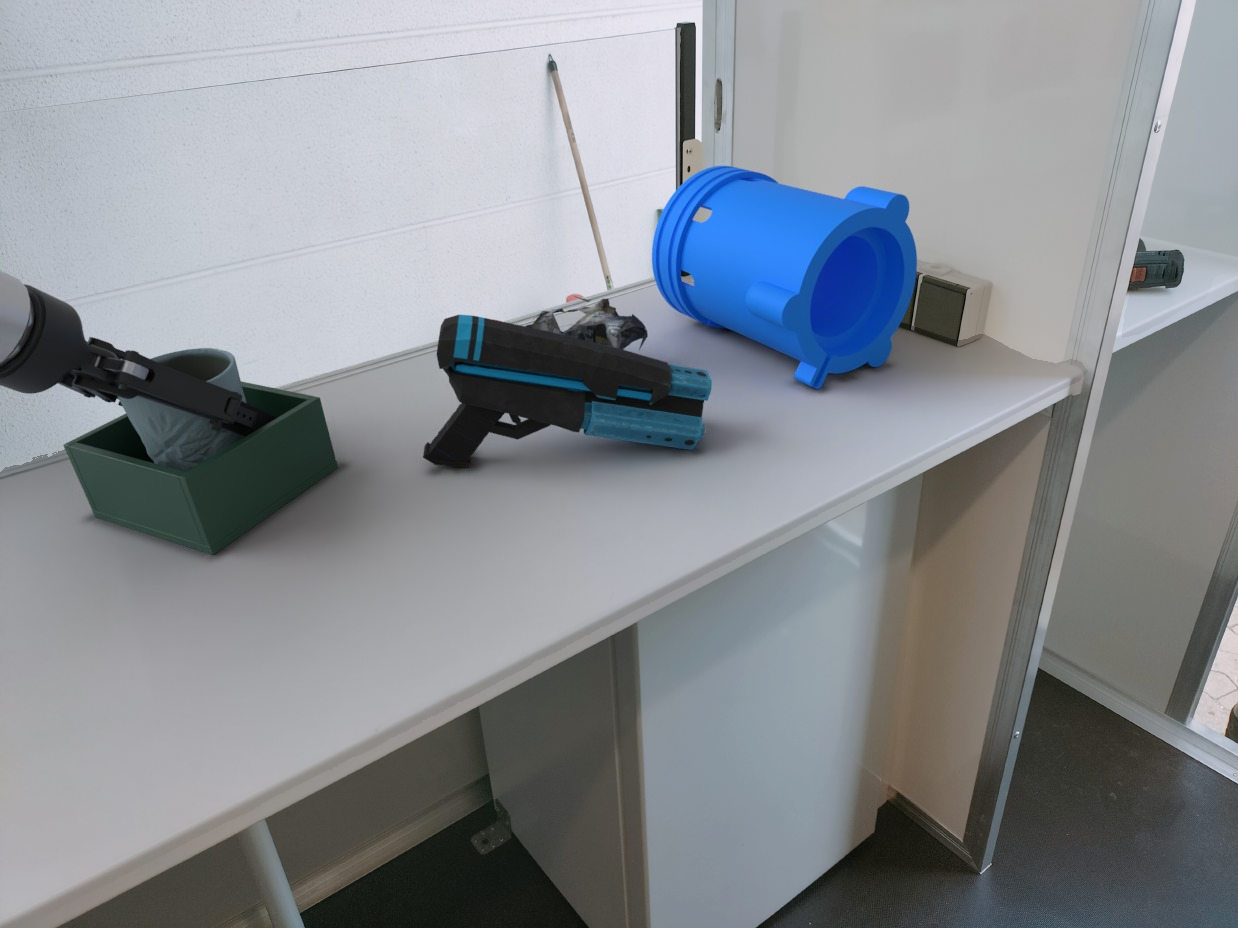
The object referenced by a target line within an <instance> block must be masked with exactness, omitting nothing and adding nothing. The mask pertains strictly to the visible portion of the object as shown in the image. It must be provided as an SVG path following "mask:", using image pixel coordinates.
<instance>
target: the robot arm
mask: <svg viewBox="0 0 1238 928" xmlns="http://www.w3.org/2000/svg"><path fill="white" fill-rule="evenodd" d="M83 328H84V327H83V322H82V320H81V317H80V315H79V313H78V312H77V310H76V309H75V308H74V306H72V305H70V304H69V303H68V302H66V301H63V300H62V299H59V298H57V297H55V296H53V295H51V294H49V293H47V292H44V291H42V290H41V289H38V288H36V287H35V286H32V285H29V284H25V283H23V281H21V279H19V278H17V277H15V276H13V275H11V274H8V273H7V272H4V271H2V270H0V387H1V386H2V387H4V388H7V389H9V390H12V391H15V392H17V393H18V392H19V393H20V394H21V393H22V394H28V395H33V394H39V393H42V392H45V391H48V390H50V389H52V388H53V387H55V386H57V384H58V385H60V386H63V387H65V388H67V389H70V390H72V391H74V392H77V393H79V394H80V395H83V396H84V397H86V398H89V399H91V398H94V399H96V397H98V398H99V399H101V400H102V401H104V402H105V403H109V404H110V403H116V402H117V400H119V398H118V396H119V397H122V398H125V399H132V398H134V397H136V396H139V397H142V398H145V399H148V400H151V401H154V402H157V403H161V404H164V405H167V406H170V407H173V408H176V409H179V410H182V411H185V412H188V413H191V414H194V415H197V416H201V417H204V418H207V419H210V423H212V424H213V425H212V428H211V429H212V430H216V431H220V430H221V427H222V428H224V429H227V430H229V431H232V432H234V433H237V434H239V435H242V436H244V437H246V436H248V435H249V434H251V433H253V432H254V431H256V430H258V429H259V428H261V427H263V426H264V425H266V424H268V423H270V422H271V421H273V420H275V419H276V418H278V417H275V416H273V415H271V414H269V413H267V412H264V411H262V410H260V409H258V408H256V407H253V406H251V405H249V404H247V403H245V402H242V401H241V400H242V397H243V396H242V395H241V394H239V393H237V392H234V391H233V392H232V391H229V390H227V389H224V388H222V387H219V386H216V385H214V384H211V383H209V382H206V381H204V380H201V379H198V378H196V377H193V376H191V375H188V374H186V373H183V372H180V371H178V370H175V369H173V368H170V367H168V366H165V365H162V364H160V363H157V362H155V361H153V360H151V358H149V357H147V356H144V355H142V354H140V352H138V351H136V350H134V349H133V350H128V349H126V350H125V351H124V350H122V349H118V348H116V347H115V346H114V345H113V344H112V343H111V342H108V341H105V340H102V339H99V338H96V337H93V336H89V338H88V340H86V337H85V335H84V329H83ZM119 385H123V386H126V389H125V390H123V389H120V388H119ZM117 406H120V407H122V408H123V406H122V404H121V402H120V400H119V401H118V404H117Z"/></svg>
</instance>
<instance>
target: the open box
mask: <svg viewBox="0 0 1238 928" xmlns="http://www.w3.org/2000/svg"><path fill="white" fill-rule="evenodd" d="M241 385H242V389H243V393H244V396H245V399H246V403H247V404H249V405H251V406H253V407H256V408H258V409H260V410H262V411H264V412H267V413H269V414H271V415H273V416H275V417H278V418H276V419H275V420H273V421H271V422H270V423H268V424H266V425H264V426H263V427H261V428H259V429H258V430H256V431H254V432H253V433H251V434H249V435H248V436H246V437H244V438H243V439H241V440H239V441H238V442H236V443H234V444H232V445H231V446H229V447H227V448H226V449H224V450H222V451H221V452H219V453H217V454H216V455H214V456H212V457H211V458H209V459H207V460H206V461H204V462H202V463H200V464H199V465H197V466H195V467H194V468H192V469H190V470H189V471H187V472H184V471H180V470H176V469H173V468H169V467H165V466H162V465H158V464H154V461H153V460H152V459H151V458H150V457H149V455H148V454H147V450H146V447H145V445H144V444H143V442H142V440H141V437H140V435H139V434H138V433H137V431H136V430H135V428H134V426H133V425H132V423H131V421H130V420H129V418H128V416H127V414H126V413H124V414H122V415H119V416H118V417H116V418H113V419H112V420H110V421H108V422H106V423H104V424H102V425H100V426H97V427H96V428H94V429H92V430H90V431H88V432H85V433H84V434H82V435H80V436H78V437H75V438H74V439H71V440H70V441H67V442H65V443H64V444H63V445H62V446H63V448H64V450H65V452H66V455H67V457H68V459H69V461H70V463H71V466H72V468H73V470H74V472H75V474H76V475H75V476H76V477H77V479H78V481H79V484H80V487H81V489H82V490H83V492H84V495H85V497H86V499H87V502H88V504H89V506H90V508H91V511H92V513H93V516H94V517H95V518H97V519H99V520H103V521H106V522H109V523H112V524H115V525H119V526H121V527H125V528H127V529H130V530H134V531H136V532H140V533H143V534H146V535H149V536H153V537H156V538H159V539H162V540H165V541H168V542H171V543H174V544H178V545H181V546H184V547H187V548H190V549H193V550H196V551H199V552H201V553H202V552H203V553H205V554H208V555H212V556H214V555H215V554H217V553H219V552H220V551H222V550H223V549H224V548H226V547H227V546H228V545H230V544H231V543H233V542H234V541H235V540H237V539H238V538H240V537H241V536H242V535H244V534H245V533H247V532H248V531H250V530H251V529H253V528H254V527H255V526H256V525H258V524H259V523H261V522H263V521H264V520H265V519H267V518H268V517H270V516H271V515H272V514H274V513H275V512H278V510H280V509H281V508H282V507H284V506H285V505H287V504H288V503H289V502H291V501H292V500H294V499H295V498H296V497H298V496H299V495H301V494H302V493H303V492H306V491H307V490H308V489H309V488H311V487H312V486H314V485H315V484H317V483H318V482H319V481H321V480H322V479H324V478H325V477H326V476H328V475H329V474H330V473H332V472H334V471H335V470H336V469H338V468H339V465H338V462H337V459H336V458H337V457H336V454H335V450H334V447H333V442H332V439H331V435H330V431H329V428H328V427H329V426H328V424H327V420H326V416H325V411H324V408H323V404H322V401H321V400H322V399H321V397H320V396H315V395H311V394H305V393H301V392H295V391H291V390H286V389H281V388H276V387H270V386H266V385H261V384H258V383H257V384H256V383H252V382H251V383H250V382H246V381H241Z"/></svg>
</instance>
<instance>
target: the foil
mask: <svg viewBox="0 0 1238 928" xmlns="http://www.w3.org/2000/svg"><path fill="white" fill-rule="evenodd" d="M573 297H574V298H577V299H579V300H582V301H584V302H587V303H589V302H591V300H590V299H586V298H582V297H578V296H575V295H573ZM585 305H586V303H585V304H583V305H582V306H580V307H579V308H575V309H574V308H573V309H568V310H564V308H558V309H552V310H551V311H549V310H542V311H541V312H540V313H539V314H537V316H535V317H534V318H533V319H532V321H534V322H533V323H531V324H530V323H528V324H526V325H524V326H525V327H530V328H535V329H539V330H544V331H549V332H553V333H557V334H561V335H565V336H569V337H573V338H577V339H581V340H585V341H589V342H594V343H598V344H602V345H606V346H610V347H614V348H618V349H622V350H625V348H627V347H628V346H630V345H632V343H634V342H637V341H638V340H641V342H640V344H639V349H638V351H640V350H641V349H642V347H643V345H644V343H645V342H646V340H647V338H648V335H649V334H648V330H647V327H646V325H645V324H644V323H643V322H642V321H641V320H640V319H639V318H638V317H637V316H636V315H635V314H634V313H632V314H631V315H619V313H618V311H617V307H614V306H612V305H611V304H610V301H609V298H602V299H600V300H599V302H597V303H595V304H594V305H593V306H585ZM578 311H579V312H581V313H583V314H585V315H584V316H582V317H581V318H579V320H577V321H576V322H575V323H573V324H571V325H570V324H568V325H566V327H567V326H570V327H569V328H567V329H565V330H563V331H562V330H561V329H560V328H561V327H562V328H563V327H564V325H563V326H561V327H560V326H559V323H558V321H557V319H556V317H555V314H557V313H563V314H564V313H565V314H566V313H575V312H578Z"/></svg>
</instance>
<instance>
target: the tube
mask: <svg viewBox="0 0 1238 928" xmlns="http://www.w3.org/2000/svg"><path fill="white" fill-rule="evenodd" d="M700 208H702V209H706V210H709V211H711V214H710V215H709V217H708V218H707V219H706V220H705V221H702V222H700V221H697V220H695V219H694V218H695V216H696V214H697V213H698V211H699V210H700ZM909 213H910V201H909V199H908V197H907V195H904V194H901V193H896V192H892V191H887V190H882V189H877V188H873V187H869V186H865V185H864V186H863V185H861V186H856V187H853V188H852V189H850V190H849V191H848V192H847V193H846V195H845V197H844V198H843V197H839V196H833V195H829V194H825V193H820V192H817V191H812V190H808V189H804V188H799V187H796V186H791V185H786V184H783V183H779V182H778V181H777V180H776V179H774V178H773V177H771V176H770V175H767V174H765V173H762V172H758V171H753V170H749V169H745V168H740V167H737V166H731V165H714V166H711V167H707V168H705V169H702V170H699V171H698V172H696V173H694V174H693V175H691V176H690V177H689V178H688V179H686V180H685V181H684V182H683V183H681V185H679V187H678V188H677V189H676V190H675V191H674V192H673V194H672V195H671V196H670V197H669V199H668V200H667V203H666V204H665V206H664V207H663V210H662V211H661V213H660V216H659V219H658V220H657V224H656V227H655V230H654V234H653V240H652V247H651V265H652V266H651V267H652V272H653V277H654V281H655V284H656V286H657V289H658V291H659V293H660V295H661V296H662V298H663V299H664V301H665V302H666V303H667V304H668V305H669V306H670V307H671V308H672V309H673V310H675V311H677V312H678V313H680V314H681V315H685V316H687V317H688V318H691V319H693V320H695V321H698V322H699V323H701V324H704V325H707V326H709V327H712V328H716V329H728V330H731V331H732V332H735V333H737V334H739V335H742V336H744V337H746V338H748V339H751V340H753V341H755V342H757V343H759V344H762V345H763V346H765V347H768V348H770V349H773V350H775V351H777V352H779V353H782V354H784V355H786V356H788V357H790V358H793V359H795V360H797V361H799V364H798V366H797V368H796V370H795V372H794V375H793V378H794V379H795V381H799V382H801V383H802V384H805V385H806V386H808V387H810V388H813V389H816V390H819V389H821V388H822V387H823V385H824V382H825V380H826V378H827V376H828V374H844V373H847V372H848V373H849V372H851V371H854V370H856V369H858V368H860V367H862V366H864V365H865V364H866V365H867V366H869V367H872V368H878V367H880V366H882V365H883V364H884V363H885V362H886V361H887V360H888V358H889V356H890V355H891V352H892V349H893V348H892V347H893V341H892V337H893V336H894V334H895V333H896V332H897V330H898V328H899V327H900V325H901V323H902V322H903V319H904V317H905V315H906V312H907V310H908V308H909V305H910V303H911V299H912V297H913V294H914V289H915V286H916V285H915V284H916V279H917V272H918V271H917V270H918V256H917V246H916V242H915V238H914V235H913V232H912V230H911V228H910V227H909V225H908V223H907V222H906V221H907V219H908V218H909ZM682 272H685V273H688V274H689V275H690V276H691V278H692V280H693V285H692V284H690V283H688V282H685V281H683V280H682Z"/></svg>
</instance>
